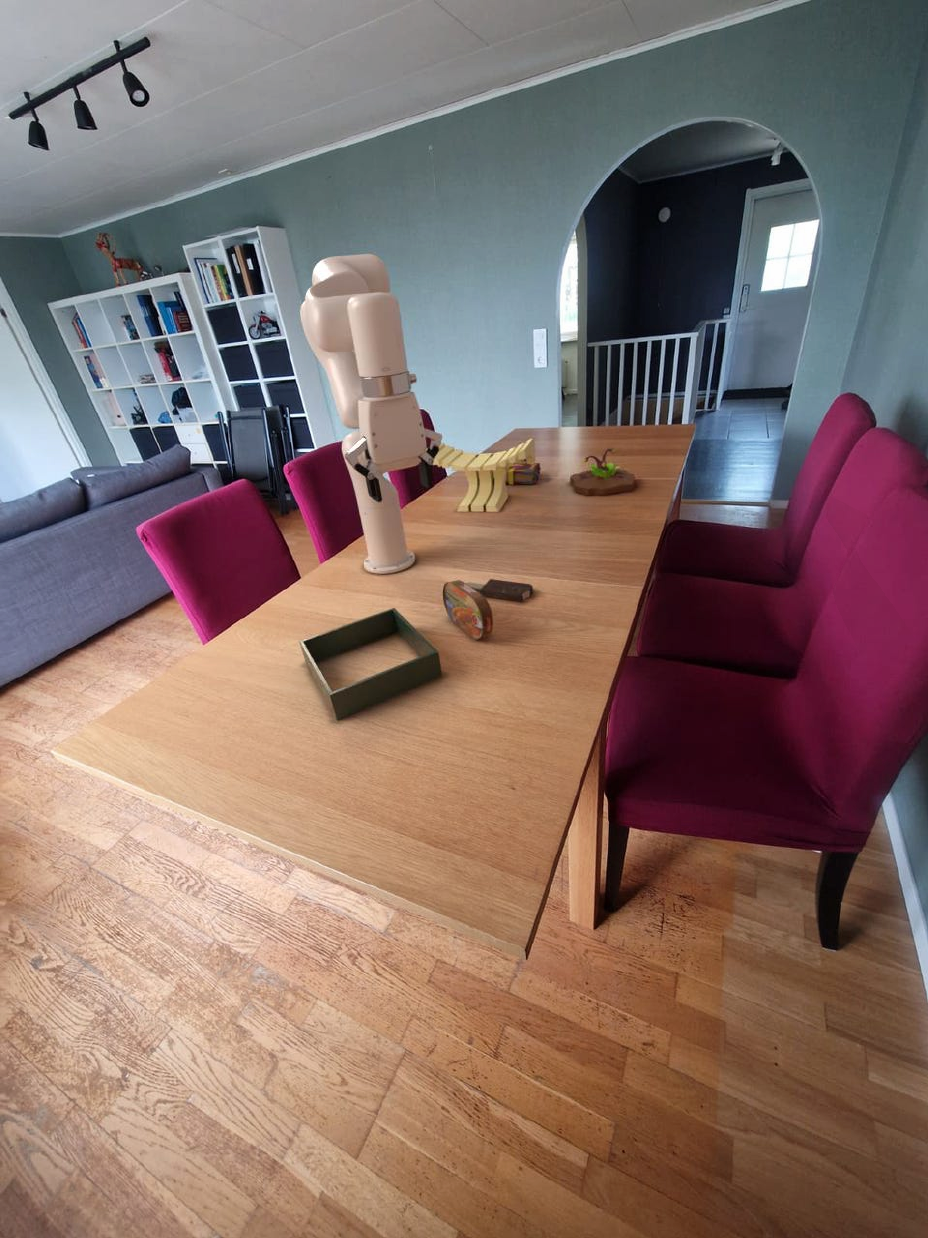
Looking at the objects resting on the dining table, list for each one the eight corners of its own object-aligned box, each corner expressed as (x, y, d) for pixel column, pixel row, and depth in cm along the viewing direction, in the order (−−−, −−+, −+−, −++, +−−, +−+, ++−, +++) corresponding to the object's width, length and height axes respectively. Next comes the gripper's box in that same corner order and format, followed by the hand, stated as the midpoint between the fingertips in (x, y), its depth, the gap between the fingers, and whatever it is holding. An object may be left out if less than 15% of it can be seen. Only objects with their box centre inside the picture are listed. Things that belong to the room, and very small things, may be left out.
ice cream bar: (459, 593, 109) (525, 603, 103) (458, 586, 108) (525, 596, 102) (470, 582, 113) (534, 591, 107) (469, 575, 112) (534, 584, 106)
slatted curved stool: (536, 494, 161) (534, 435, 152) (527, 511, 148) (524, 448, 139) (446, 494, 170) (439, 439, 160) (430, 511, 157) (422, 452, 148)
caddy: (306, 664, 92) (299, 641, 89) (398, 630, 99) (394, 607, 96) (337, 720, 78) (329, 695, 75) (442, 676, 85) (438, 651, 82)
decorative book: (499, 475, 183) (498, 460, 181) (543, 475, 178) (543, 460, 175) (490, 484, 174) (488, 469, 172) (536, 485, 169) (536, 469, 166)
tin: (443, 614, 102) (438, 576, 98) (457, 609, 103) (452, 571, 99) (482, 648, 91) (479, 607, 86) (497, 642, 92) (494, 601, 87)
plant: (643, 492, 153) (647, 453, 147) (577, 497, 154) (578, 460, 148) (626, 473, 170) (628, 438, 164) (567, 479, 171) (567, 444, 165)
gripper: (423, 376, 86) (435, 477, 95) (325, 393, 79) (348, 500, 88) (445, 379, 80) (456, 486, 90) (341, 398, 74) (364, 511, 83)
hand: (402, 493), depth 89 cm, fingers open, 9 cm apart
